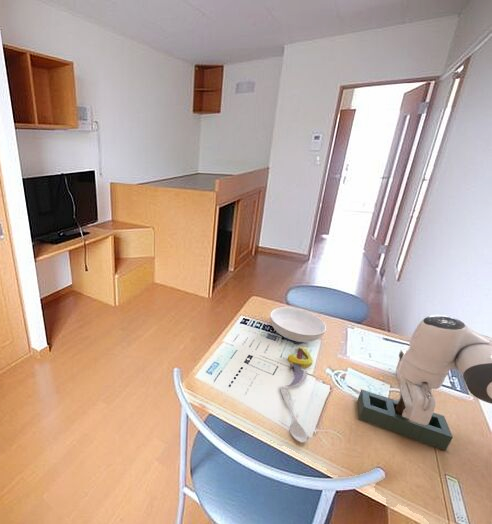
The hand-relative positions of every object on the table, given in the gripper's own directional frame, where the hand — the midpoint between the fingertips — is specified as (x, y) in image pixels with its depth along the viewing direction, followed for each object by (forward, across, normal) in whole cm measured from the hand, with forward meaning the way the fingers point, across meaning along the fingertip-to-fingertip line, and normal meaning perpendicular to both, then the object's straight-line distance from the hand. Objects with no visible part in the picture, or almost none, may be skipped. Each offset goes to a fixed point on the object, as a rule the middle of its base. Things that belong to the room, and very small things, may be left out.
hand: (403, 410), depth 86 cm
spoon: (+6, -12, +27) cm, 30 cm away
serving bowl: (+6, +33, +30) cm, 45 cm away
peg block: (+5, 0, 0) cm, 5 cm away
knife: (+6, +10, +27) cm, 29 cm away
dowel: (+4, 0, 0) cm, 4 cm away
